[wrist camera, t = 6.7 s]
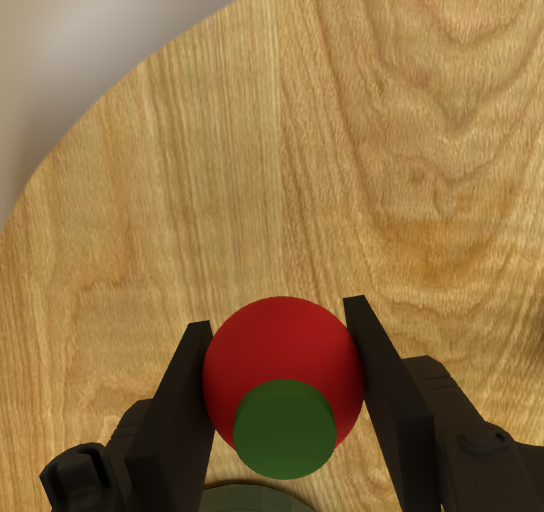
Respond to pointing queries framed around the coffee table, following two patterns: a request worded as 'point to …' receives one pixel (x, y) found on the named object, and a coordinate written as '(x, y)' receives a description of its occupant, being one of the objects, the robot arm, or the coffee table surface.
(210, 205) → the coffee table surface
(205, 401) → the tomato
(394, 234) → the coffee table surface
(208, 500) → the bowl
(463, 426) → the robot arm
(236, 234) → the coffee table surface
